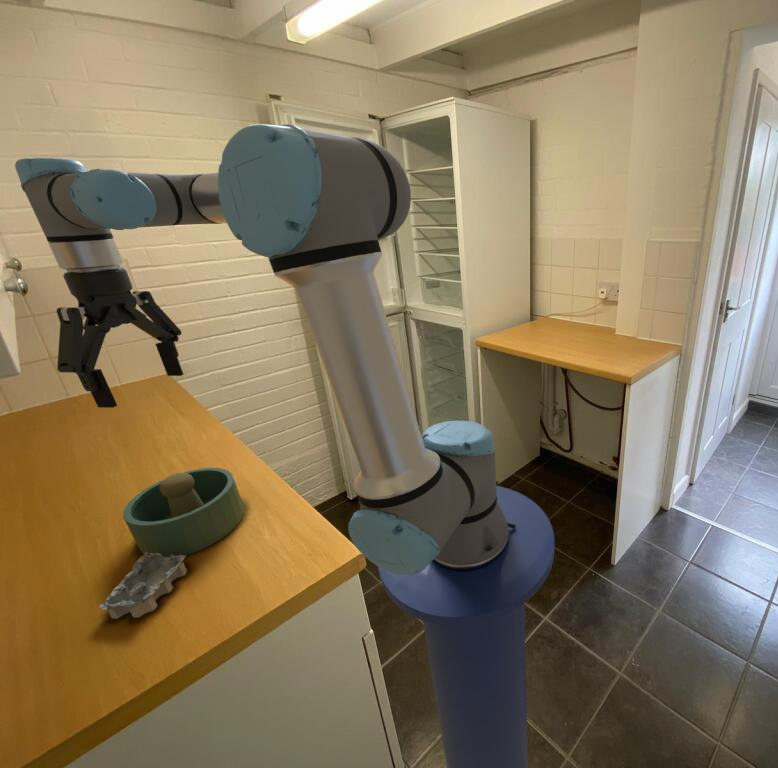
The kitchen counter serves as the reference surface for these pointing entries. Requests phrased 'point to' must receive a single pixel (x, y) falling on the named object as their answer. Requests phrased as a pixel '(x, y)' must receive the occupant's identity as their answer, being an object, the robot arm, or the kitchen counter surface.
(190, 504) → the cork
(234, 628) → the kitchen counter surface
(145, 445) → the kitchen counter surface
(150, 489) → the green round bowl
